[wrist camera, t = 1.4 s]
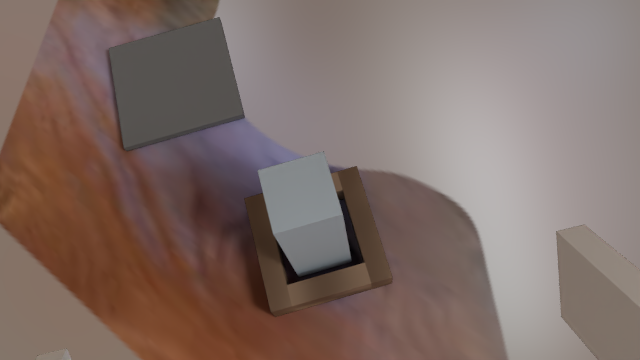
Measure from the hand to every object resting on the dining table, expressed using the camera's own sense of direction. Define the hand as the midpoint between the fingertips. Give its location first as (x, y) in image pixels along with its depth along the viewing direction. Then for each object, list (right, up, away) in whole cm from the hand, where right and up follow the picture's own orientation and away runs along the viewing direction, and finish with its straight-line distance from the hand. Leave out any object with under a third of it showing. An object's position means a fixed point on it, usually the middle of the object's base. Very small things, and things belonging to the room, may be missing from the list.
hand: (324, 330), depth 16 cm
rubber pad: (-12, +12, +34) cm, 38 cm away
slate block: (0, -1, +28) cm, 28 cm away
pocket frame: (0, -1, +28) cm, 28 cm away
